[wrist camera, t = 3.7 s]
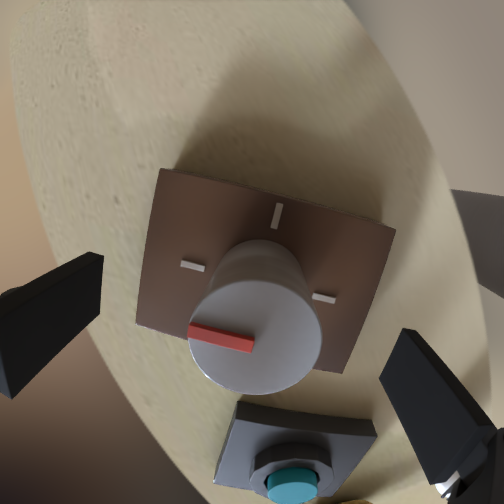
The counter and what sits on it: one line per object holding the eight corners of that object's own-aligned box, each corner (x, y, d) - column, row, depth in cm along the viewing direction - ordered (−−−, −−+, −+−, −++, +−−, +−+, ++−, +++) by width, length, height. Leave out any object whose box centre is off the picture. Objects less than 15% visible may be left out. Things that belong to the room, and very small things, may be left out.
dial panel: (382, 223, 19) (397, 230, 17) (335, 355, 22) (342, 375, 19) (172, 168, 19) (158, 167, 17) (147, 309, 22) (134, 325, 19)
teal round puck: (323, 467, 20) (325, 483, 19) (306, 491, 21) (307, 506, 20) (275, 463, 20) (276, 479, 19) (262, 487, 21) (261, 502, 20)
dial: (313, 251, 17) (343, 300, 10) (289, 329, 19) (299, 409, 12) (226, 229, 17) (198, 265, 10) (208, 310, 19) (177, 382, 11)
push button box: (371, 419, 23) (383, 450, 19) (329, 481, 26) (333, 510, 22) (237, 400, 23) (232, 434, 19) (215, 467, 25) (210, 497, 22)
